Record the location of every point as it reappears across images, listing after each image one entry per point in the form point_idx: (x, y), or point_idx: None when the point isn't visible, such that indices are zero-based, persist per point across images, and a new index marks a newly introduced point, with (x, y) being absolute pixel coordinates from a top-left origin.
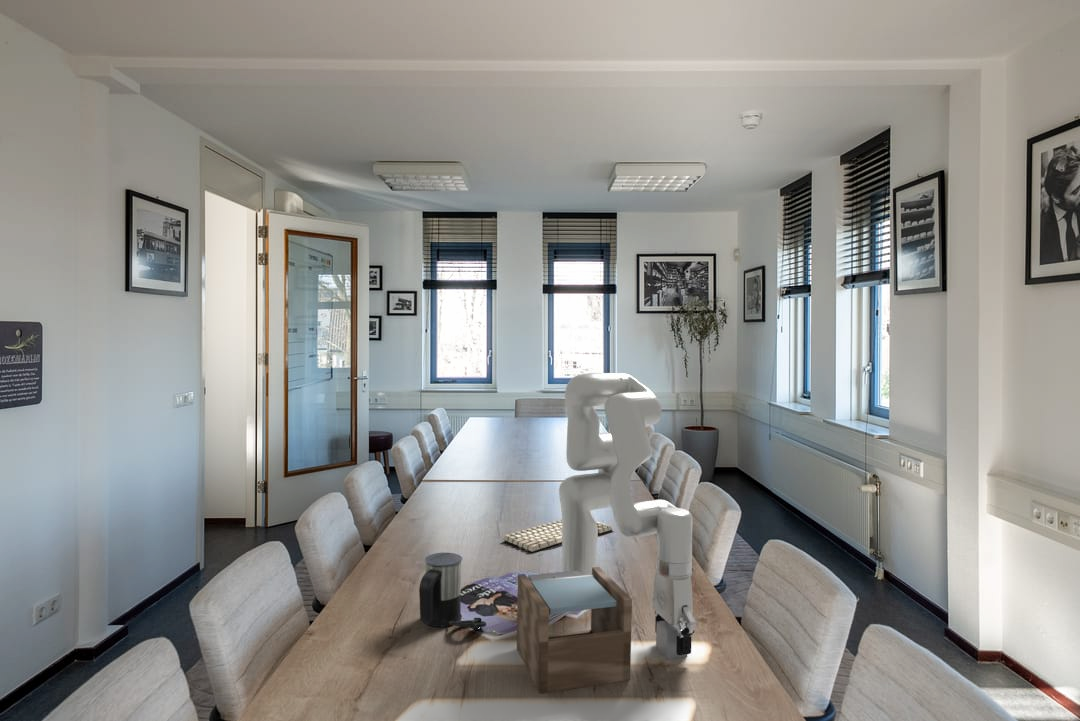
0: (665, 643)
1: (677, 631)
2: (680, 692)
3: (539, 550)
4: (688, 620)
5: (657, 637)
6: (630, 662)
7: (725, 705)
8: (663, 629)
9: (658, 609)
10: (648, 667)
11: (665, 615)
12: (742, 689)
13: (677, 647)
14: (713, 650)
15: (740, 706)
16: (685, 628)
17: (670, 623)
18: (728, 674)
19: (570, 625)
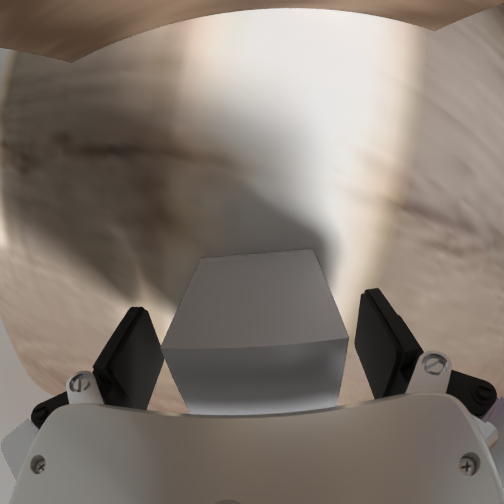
0: (202, 293)
1: (183, 396)
2: (16, 223)
3: None
4: (12, 459)
5: (308, 278)
6: (25, 51)
7: (7, 305)
8: (223, 341)
9: (319, 457)
10: (137, 149)
11: (135, 454)
12: (65, 370)
13: (119, 327)
14: None
15: (14, 329)
16: (40, 422)
17: (70, 406)
18: None
19: (498, 18)
